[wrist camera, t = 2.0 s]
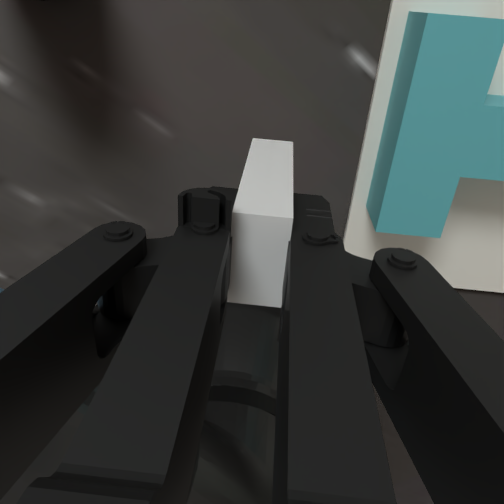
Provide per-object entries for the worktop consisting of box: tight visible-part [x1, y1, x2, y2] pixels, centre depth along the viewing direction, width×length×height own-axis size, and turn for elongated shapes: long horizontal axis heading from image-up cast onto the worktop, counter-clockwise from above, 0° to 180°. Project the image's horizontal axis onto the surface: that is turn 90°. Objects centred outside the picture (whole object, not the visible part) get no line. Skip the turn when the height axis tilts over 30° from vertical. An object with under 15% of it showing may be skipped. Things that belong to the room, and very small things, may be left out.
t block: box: [366, 11, 504, 238], centre depth 26 cm, size 12×12×4 cm
